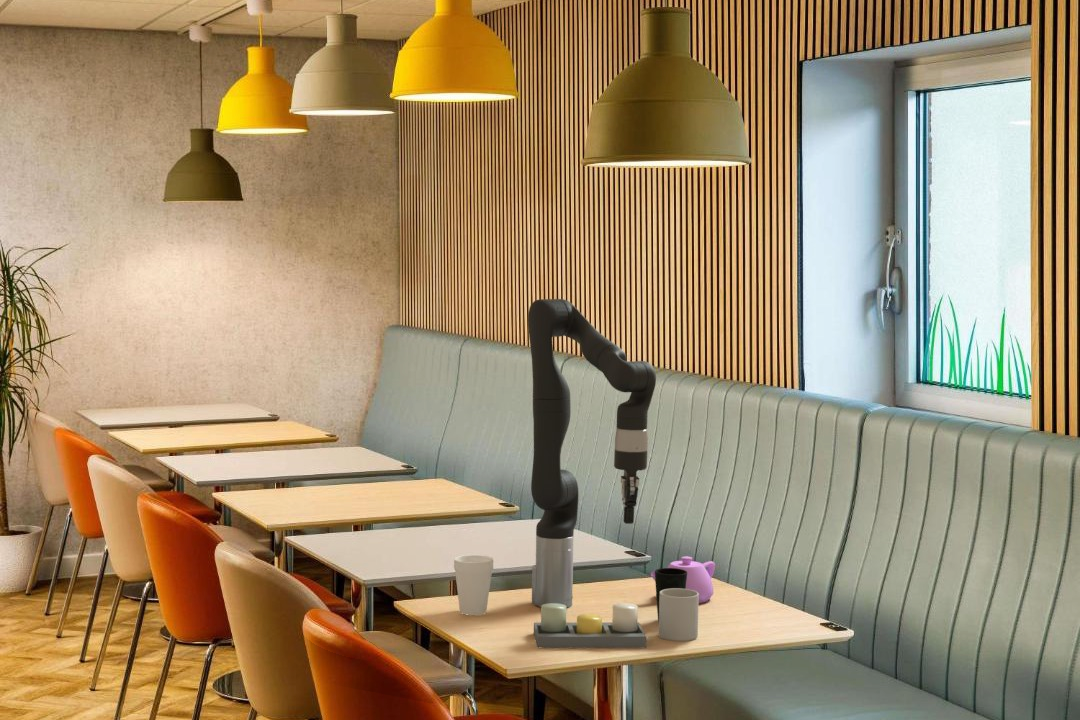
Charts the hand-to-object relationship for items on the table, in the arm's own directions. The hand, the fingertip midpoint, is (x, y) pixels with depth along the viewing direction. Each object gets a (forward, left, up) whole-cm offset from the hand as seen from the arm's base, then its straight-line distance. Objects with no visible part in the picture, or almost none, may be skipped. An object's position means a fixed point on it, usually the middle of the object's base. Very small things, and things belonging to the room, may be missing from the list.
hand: (628, 522), depth 315 cm
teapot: (0, +34, -25) cm, 42 cm away
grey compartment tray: (-3, -14, -25) cm, 28 cm away
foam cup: (-38, -6, -25) cm, 46 cm away
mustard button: (-3, -14, -24) cm, 28 cm away
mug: (+13, +1, -25) cm, 28 cm away
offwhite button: (+4, -10, -22) cm, 24 cm away
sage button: (-10, -18, -22) cm, 30 cm away
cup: (+6, +11, -25) cm, 28 cm away
